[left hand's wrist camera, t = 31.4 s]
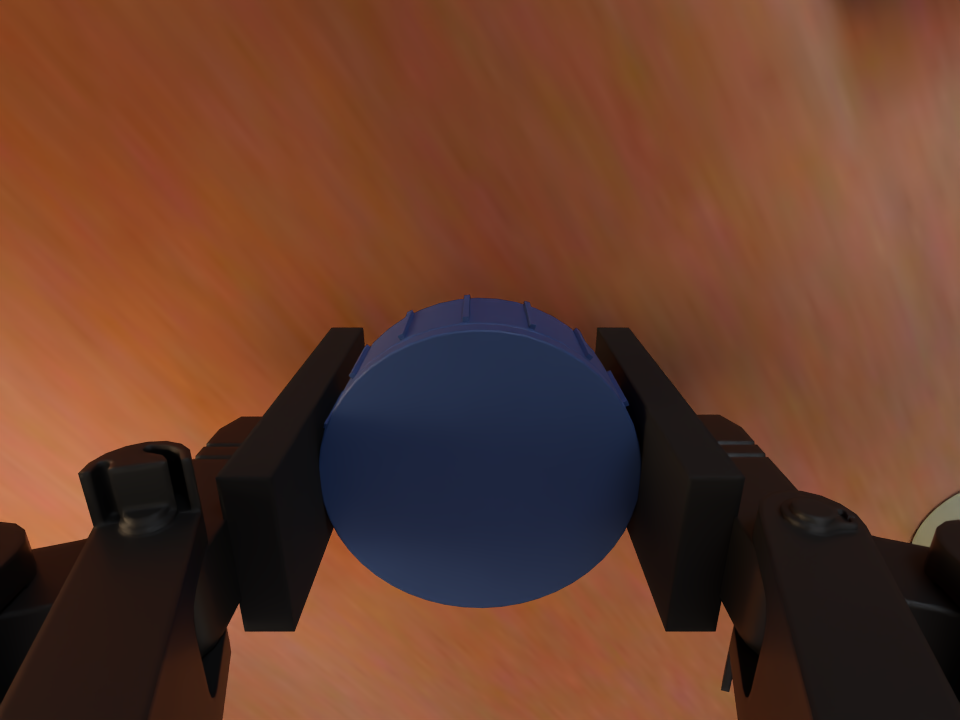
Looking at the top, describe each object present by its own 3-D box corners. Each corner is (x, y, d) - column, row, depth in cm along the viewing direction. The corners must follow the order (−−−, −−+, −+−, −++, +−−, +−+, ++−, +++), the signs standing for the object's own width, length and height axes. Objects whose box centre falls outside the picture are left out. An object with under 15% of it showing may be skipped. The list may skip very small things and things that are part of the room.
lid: (338, 529, 13) (314, 596, 11) (345, 279, 11) (317, 309, 9) (591, 553, 13) (609, 622, 11) (645, 312, 11) (678, 348, 9)
